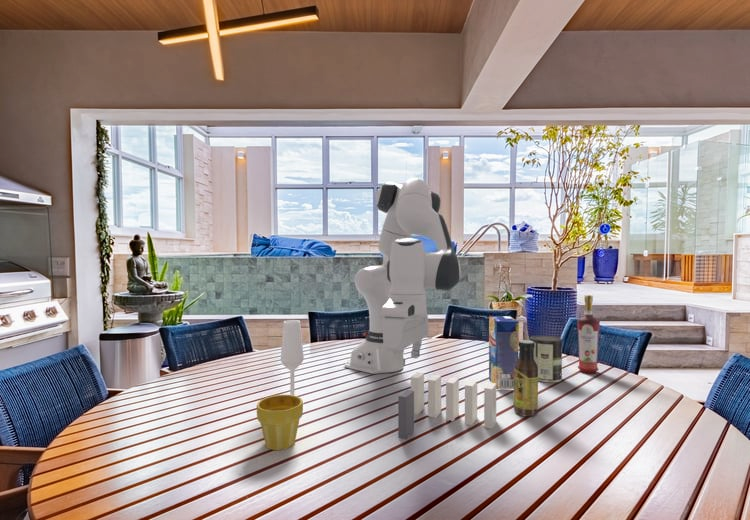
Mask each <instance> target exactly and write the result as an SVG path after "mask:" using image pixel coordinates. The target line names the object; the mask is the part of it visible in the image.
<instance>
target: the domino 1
mask: <svg viewBox="0 0 750 520" xmlns="http://www.w3.org/2000/svg"><path fill="white" fill-rule="evenodd" d="M397 397H398V400H397V401H398V406H397V407H398V408H397V409H398V414H397V415H398V418H397V419H398V420H397V421H398V426H397V427H398V428H397V429H398V431H397V433H398V435H397V437H398V438H400V439H404V440H407V439H408V438H409V437H410V435H411V434H413V432H415V414H414V391H412V390H411V389H406V390H404V391H402V393H400V394H398V396H397Z"/></svg>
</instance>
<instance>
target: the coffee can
mask: <svg viewBox="0 0 750 520" xmlns="http://www.w3.org/2000/svg"><path fill="white" fill-rule="evenodd" d="M530 341H533V342H534V346H535V347H534V358H533V359H534V361H535V362H536V364H537V366H538V382H541V381H542V382H543V383H551V384H552V383H560V382H562V381H563V373H562V372H563V365H562V364H563V338H561V337H559V336H553V335H546V334H545V335H543V334H537V335H531V336H530Z"/></svg>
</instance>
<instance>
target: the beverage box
mask: <svg viewBox="0 0 750 520" xmlns="http://www.w3.org/2000/svg"><path fill="white" fill-rule="evenodd" d="M488 317H489V321H488V322H489V323H488V325H489V327H488V331H489V333H488V343H489V344H488V380H489V381H490V383H491V382H492V383H496V389H514V367H515V363H516V362H517V360H518V359H519V341H520V340H519V337H520V336H519V334H520V332H519V330H520V328H519V322H520V321H518V320H517V319H515V318H514V317H512V316H509V315H505V316H502V315H495V316H494V315H489V316H488Z"/></svg>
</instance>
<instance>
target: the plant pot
mask: <svg viewBox="0 0 750 520" xmlns="http://www.w3.org/2000/svg"><path fill="white" fill-rule="evenodd" d="M302 400H303V399H302V398H301V397H300V396H297V395H295V396H294V395H290V394H276V395H270V396H268V397H264V398H262V399H260V400H259V401H258V402H257V404H256V418H257V419H256V420H257V421H258V422H259V423H260V426H261V431H262V434H263V439H264V444H265V446H266V448H268V449H269V450H272V451H282V450H286V449H289V448H291V447H292V446H293V445H294V444H295V443H296V438H297V433H298V429H299V424H300V419H301V418H302V417H303V414H304V412H303V411H304V403H303V401H304V400H303V401H302Z"/></svg>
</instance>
